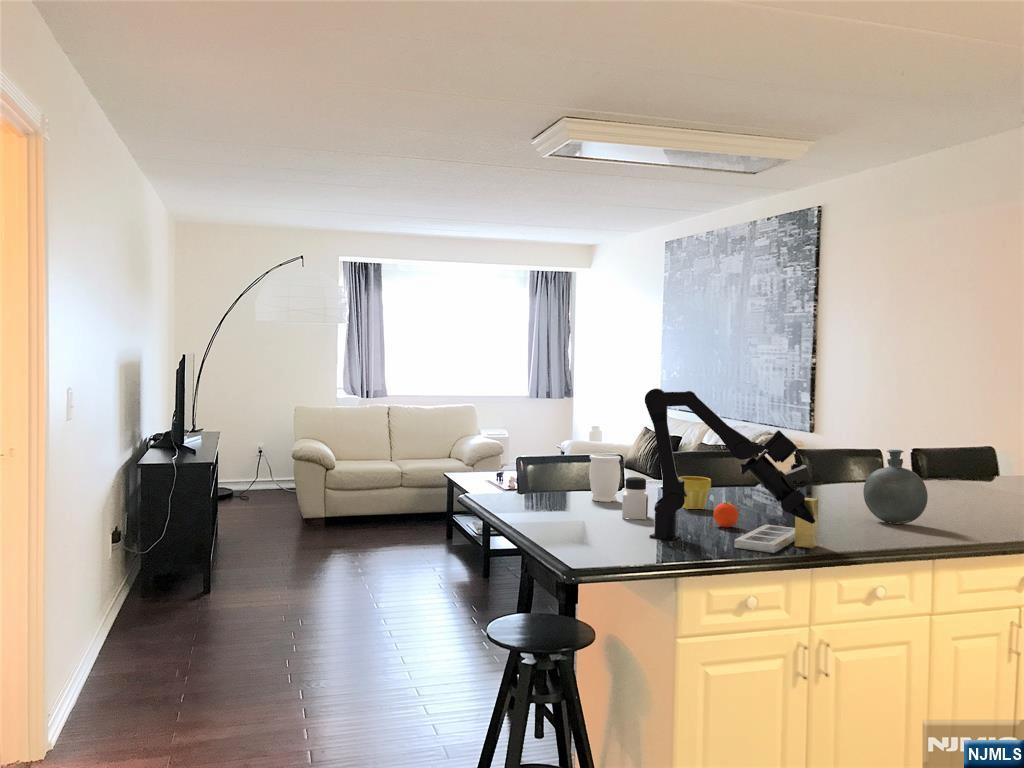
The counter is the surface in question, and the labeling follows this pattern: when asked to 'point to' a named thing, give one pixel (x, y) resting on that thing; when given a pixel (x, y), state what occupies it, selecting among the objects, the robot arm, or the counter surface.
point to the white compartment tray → (766, 538)
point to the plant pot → (696, 491)
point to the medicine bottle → (635, 499)
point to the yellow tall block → (807, 526)
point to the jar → (604, 477)
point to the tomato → (726, 514)
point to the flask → (895, 492)
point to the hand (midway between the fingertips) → (812, 520)
